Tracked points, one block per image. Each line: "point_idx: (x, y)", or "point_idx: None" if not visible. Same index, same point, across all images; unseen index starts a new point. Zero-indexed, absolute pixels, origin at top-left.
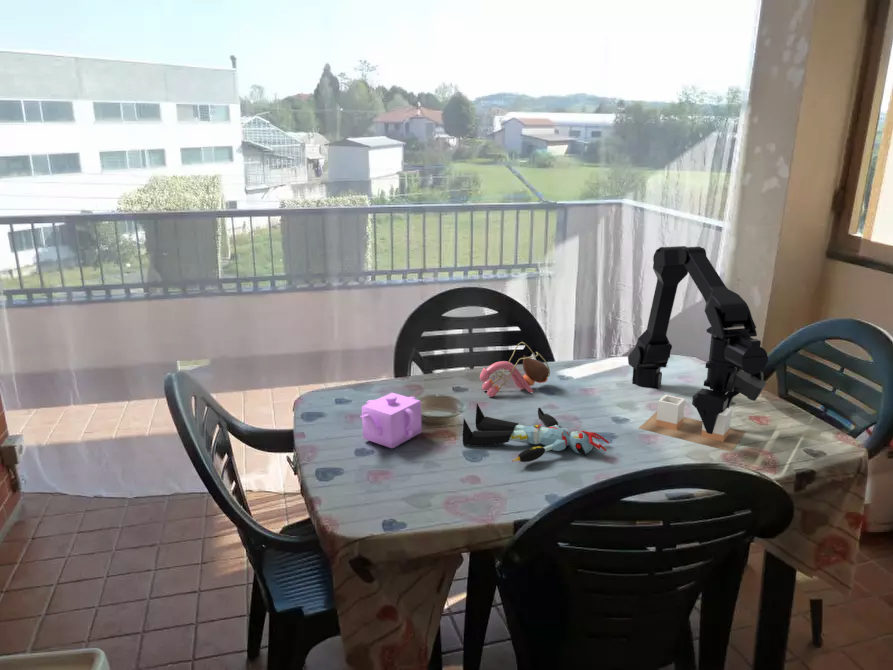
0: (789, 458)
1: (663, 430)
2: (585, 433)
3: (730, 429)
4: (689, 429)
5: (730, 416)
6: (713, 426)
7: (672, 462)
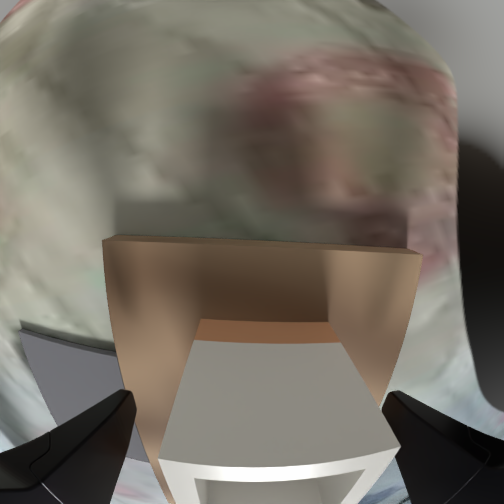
0: (273, 11)
1: None
2: None
3: (132, 321)
4: None
5: (200, 407)
6: (440, 414)
7: (472, 379)
